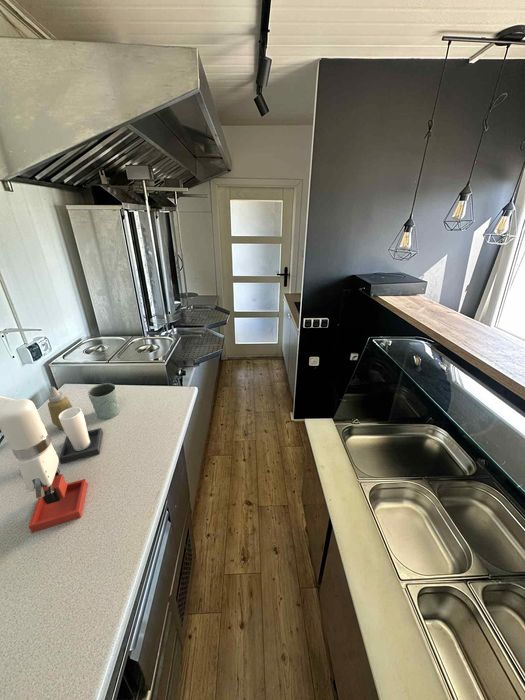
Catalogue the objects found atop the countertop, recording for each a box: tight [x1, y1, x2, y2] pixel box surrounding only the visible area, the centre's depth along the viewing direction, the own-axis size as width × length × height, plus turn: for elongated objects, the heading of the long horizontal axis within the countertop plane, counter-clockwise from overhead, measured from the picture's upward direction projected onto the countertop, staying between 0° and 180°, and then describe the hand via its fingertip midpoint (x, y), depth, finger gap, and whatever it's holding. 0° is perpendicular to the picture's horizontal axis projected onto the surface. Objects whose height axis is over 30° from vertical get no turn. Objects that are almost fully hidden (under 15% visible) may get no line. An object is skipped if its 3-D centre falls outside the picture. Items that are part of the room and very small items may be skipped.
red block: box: [42, 474, 68, 503], centre depth 79 cm, size 4×4×4 cm
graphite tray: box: [58, 427, 104, 465], centre depth 103 cm, size 12×12×2 cm
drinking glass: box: [59, 406, 91, 451], centre depth 100 cm, size 7×7×15 cm
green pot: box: [87, 382, 120, 421], centre depth 118 cm, size 10×10×12 cm
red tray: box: [28, 478, 88, 534], centre depth 82 cm, size 12×12×2 cm
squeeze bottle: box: [47, 386, 73, 431], centre depth 110 cm, size 8×8×18 cm
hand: (55, 493), depth 80 cm, fingers closed on red block, 4 cm apart
